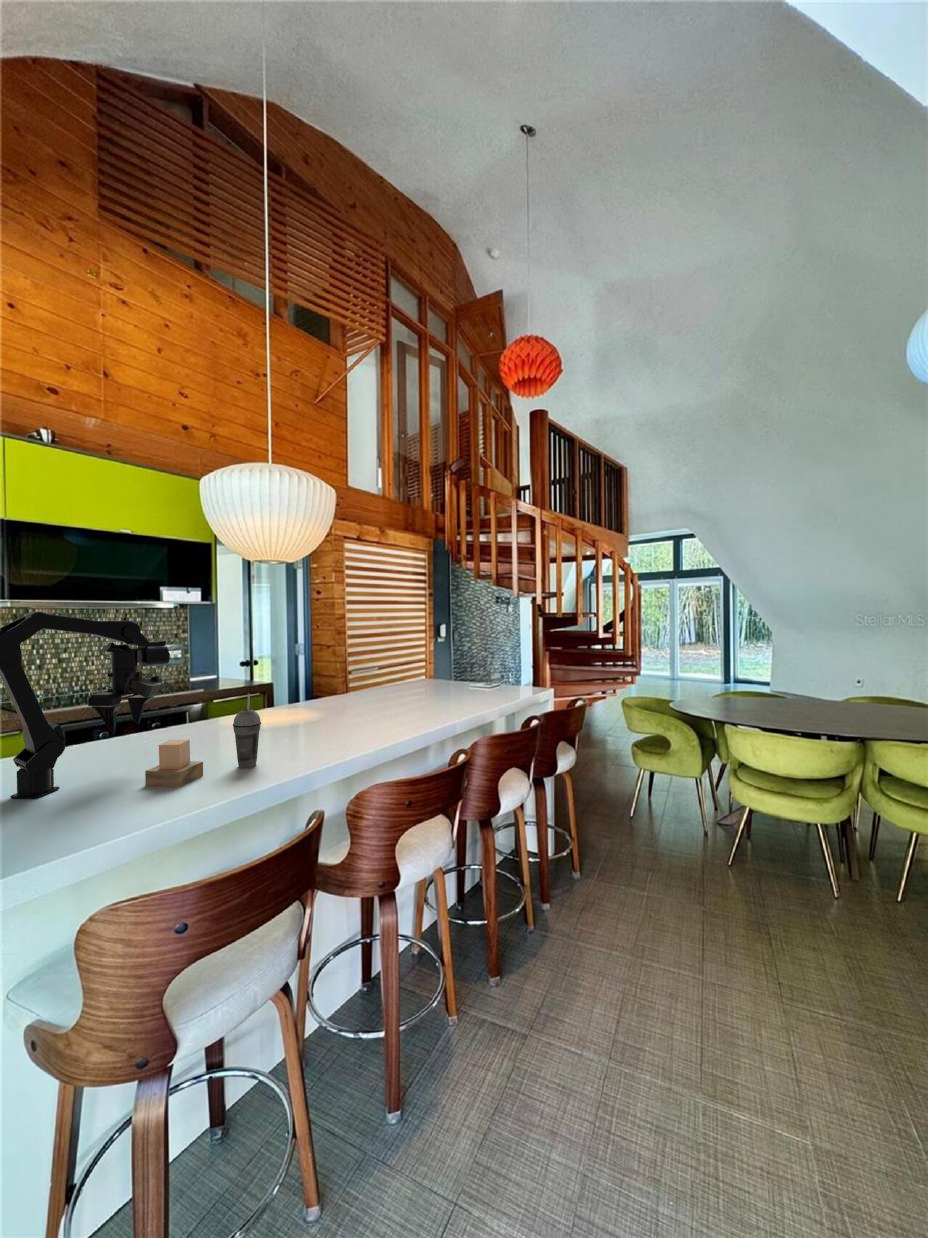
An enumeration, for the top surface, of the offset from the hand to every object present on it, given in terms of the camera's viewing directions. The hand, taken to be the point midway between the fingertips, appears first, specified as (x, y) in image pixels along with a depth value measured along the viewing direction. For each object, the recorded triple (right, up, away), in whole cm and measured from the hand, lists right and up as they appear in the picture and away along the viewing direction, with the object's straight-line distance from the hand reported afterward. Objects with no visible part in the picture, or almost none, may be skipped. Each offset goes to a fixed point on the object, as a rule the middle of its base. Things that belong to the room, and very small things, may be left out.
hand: (125, 727), depth 134 cm
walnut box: (+17, -12, -6) cm, 22 cm away
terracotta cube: (+17, -8, -6) cm, 20 cm away
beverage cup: (+30, -12, +6) cm, 33 cm away
